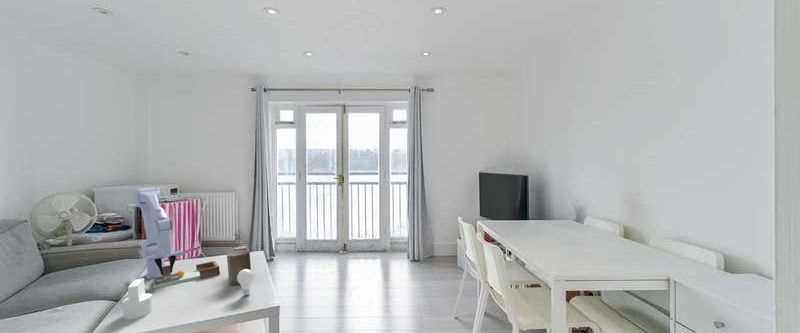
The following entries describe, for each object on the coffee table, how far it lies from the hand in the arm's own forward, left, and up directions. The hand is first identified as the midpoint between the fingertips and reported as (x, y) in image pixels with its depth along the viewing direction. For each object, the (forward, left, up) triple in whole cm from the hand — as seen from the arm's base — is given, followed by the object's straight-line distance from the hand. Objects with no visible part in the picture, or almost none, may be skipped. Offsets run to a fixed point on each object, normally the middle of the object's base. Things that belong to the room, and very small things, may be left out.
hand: (166, 273), depth 165 cm
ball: (0, +6, -2) cm, 6 cm away
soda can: (+12, +31, -5) cm, 33 cm away
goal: (0, +18, -4) cm, 18 cm away
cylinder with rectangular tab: (+32, -11, -5) cm, 34 cm away
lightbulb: (+43, +25, -5) cm, 50 cm away
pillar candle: (+24, +27, -5) cm, 36 cm away
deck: (0, +4, -4) cm, 6 cm away
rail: (0, 0, -3) cm, 3 cm away
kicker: (0, 0, -3) cm, 3 cm away
